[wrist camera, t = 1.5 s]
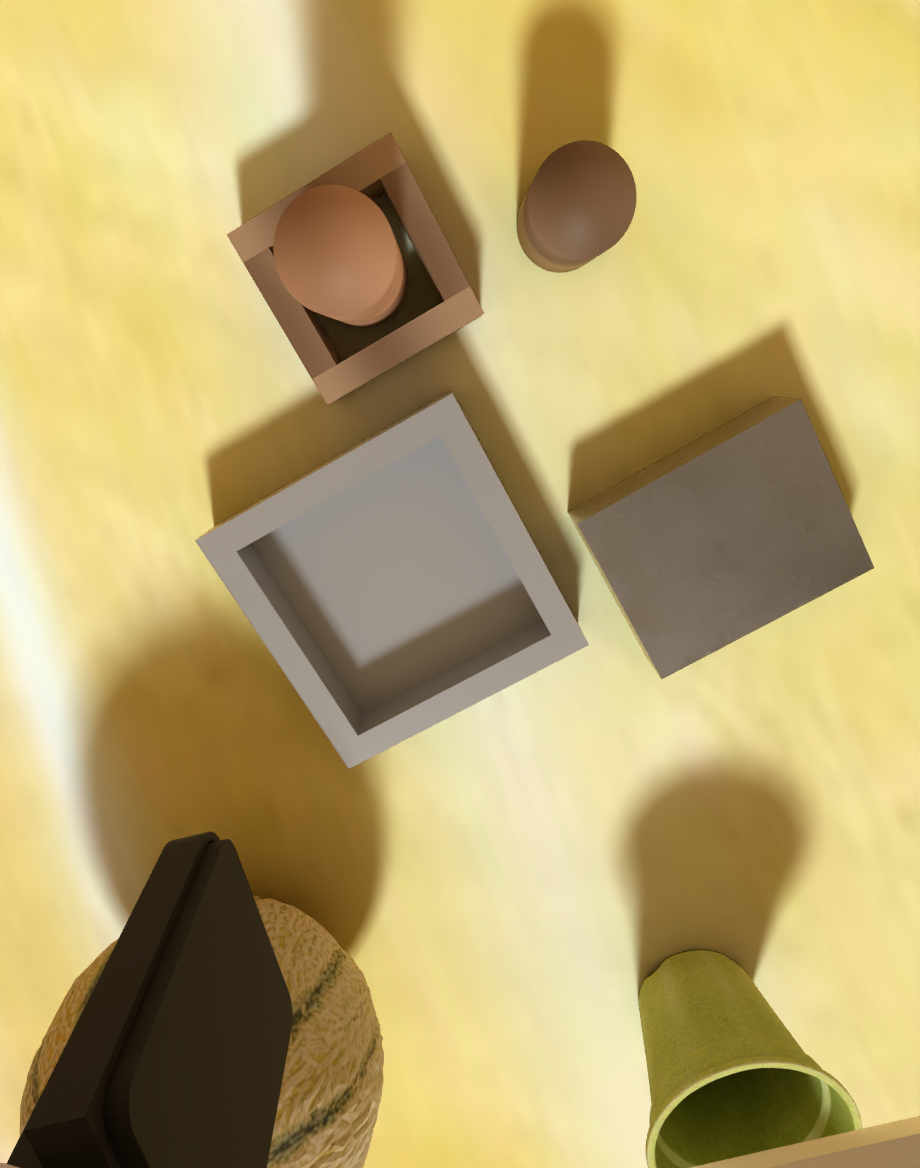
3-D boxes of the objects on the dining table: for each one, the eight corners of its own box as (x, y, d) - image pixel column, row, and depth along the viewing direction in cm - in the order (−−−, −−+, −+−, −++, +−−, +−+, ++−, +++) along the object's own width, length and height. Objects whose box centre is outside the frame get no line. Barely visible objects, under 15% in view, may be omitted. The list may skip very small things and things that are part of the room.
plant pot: (598, 933, 41) (638, 1081, 32) (777, 908, 41) (863, 1050, 32) (615, 1071, 43) (656, 1240, 35) (783, 1048, 43) (864, 1213, 35)
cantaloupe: (347, 1091, 43) (300, 1456, 29) (85, 1027, 42) (-102, 1379, 27) (432, 876, 40) (427, 1174, 25) (147, 796, 38) (-33, 1065, 24)
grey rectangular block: (769, 395, 34) (800, 399, 31) (839, 551, 36) (874, 567, 33) (566, 510, 35) (577, 523, 32) (644, 654, 37) (661, 679, 34)
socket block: (394, 150, 30) (390, 132, 28) (480, 316, 32) (483, 312, 30) (243, 244, 31) (226, 234, 29) (335, 401, 33) (327, 404, 30)
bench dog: (581, 156, 30) (607, 118, 26) (621, 243, 31) (653, 223, 27) (500, 204, 31) (511, 176, 26) (542, 289, 32) (560, 277, 27)
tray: (451, 390, 33) (452, 393, 30) (578, 624, 36) (588, 644, 33) (213, 526, 34) (195, 540, 32) (355, 740, 37) (348, 769, 35)
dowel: (379, 214, 31) (355, 159, 22) (424, 299, 32) (418, 277, 23) (302, 261, 31) (249, 226, 23) (349, 343, 32) (315, 339, 24)
